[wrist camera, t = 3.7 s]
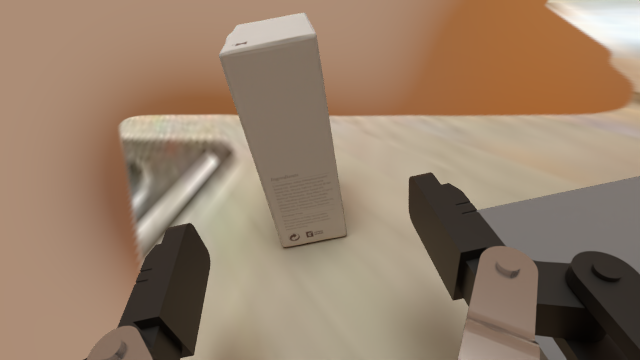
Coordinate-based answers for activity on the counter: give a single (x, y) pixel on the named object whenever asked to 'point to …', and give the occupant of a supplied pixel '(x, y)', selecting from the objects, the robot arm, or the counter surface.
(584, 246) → the slate tile
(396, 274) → the counter surface
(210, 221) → the counter surface
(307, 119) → the skincare box
